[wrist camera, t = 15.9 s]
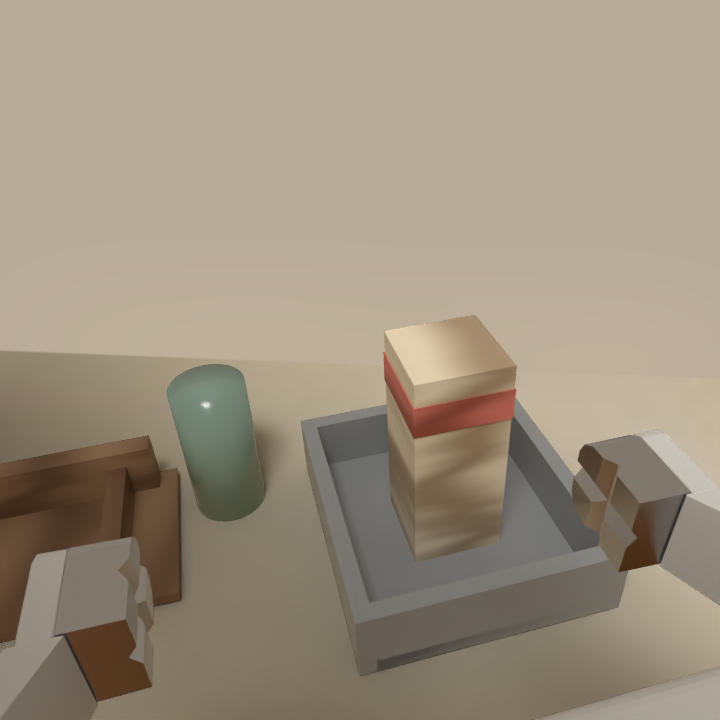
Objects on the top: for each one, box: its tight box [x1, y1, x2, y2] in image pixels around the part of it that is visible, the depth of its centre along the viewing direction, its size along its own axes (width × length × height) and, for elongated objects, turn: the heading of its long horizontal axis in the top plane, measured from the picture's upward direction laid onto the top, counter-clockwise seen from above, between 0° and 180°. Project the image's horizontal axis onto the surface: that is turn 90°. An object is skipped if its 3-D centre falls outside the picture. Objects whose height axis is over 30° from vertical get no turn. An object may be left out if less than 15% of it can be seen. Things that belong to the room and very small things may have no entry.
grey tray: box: [301, 398, 628, 676], centre depth 34 cm, size 13×14×4 cm
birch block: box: [384, 315, 517, 563], centre depth 31 cm, size 5×5×11 cm
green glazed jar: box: [167, 364, 265, 521], centre depth 36 cm, size 4×4×8 cm
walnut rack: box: [0, 436, 181, 643], centre depth 34 cm, size 14×9×4 cm, turn 104°
